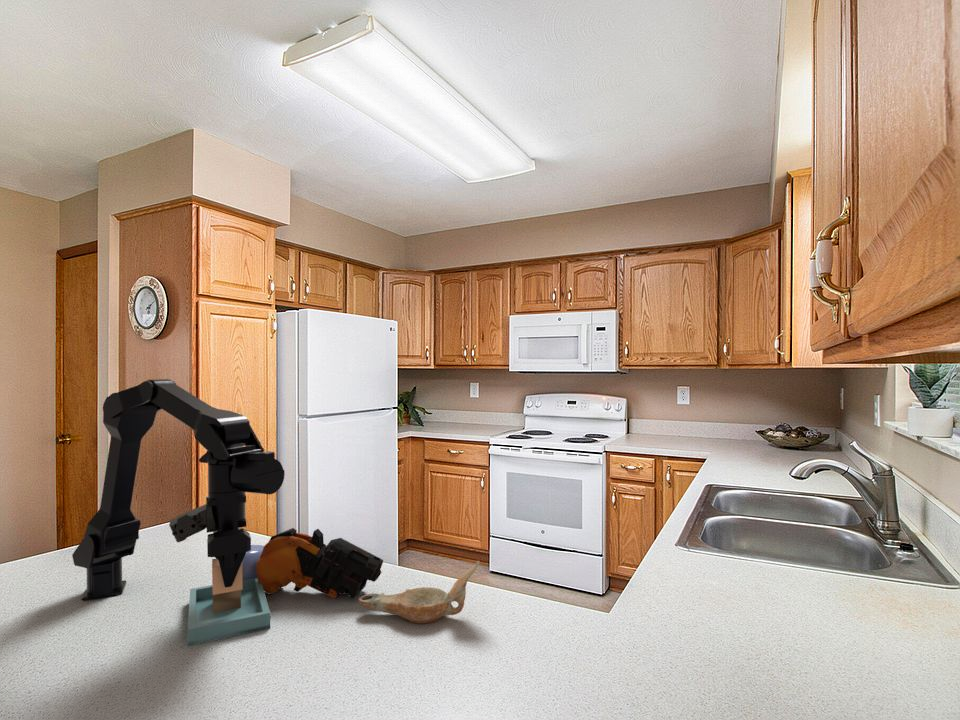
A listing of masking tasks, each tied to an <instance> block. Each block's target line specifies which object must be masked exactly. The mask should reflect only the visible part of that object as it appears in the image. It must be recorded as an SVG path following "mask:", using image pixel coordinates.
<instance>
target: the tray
mask: <svg viewBox="0 0 960 720" xmlns="http://www.w3.org/2000/svg"><path fill="white" fill-rule="evenodd" d="M242 581H243V590H241V608H236V609H231V610H226V611H220V612H215V613H213V588H212V584H211V585H205V586H199V587H194V588H190V589H189V603H188V604H189V605H188V618H187V619H188V621H187V646H188V647H190V646H196V645H199V644H204V643H208V642H214V641H218V640H222V639H226V638H230V637H231V638H232V637H235V636H240V635H245V634H250V633H254V632H259V631H263V630H268V629H271V611H270V607H269V604H268V600H267V597H266V592H265V591H264V589H263V585H262V584H259V582H258V579H257V578H254V579H249V580H242Z"/></svg>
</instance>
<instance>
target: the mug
mask: <svg viewBox="0 0 960 720" xmlns="http://www.w3.org/2000/svg"><path fill="white" fill-rule="evenodd" d="M264 546H265V545H262V544H251V550H250V551H248V552H246V554H245V556H244V559H243V561H242V580H249V579H254V578H257V573H256V569H257V568H256V566H257V561H258V559H259V557H260V556H261V553H262V551H263V548H264Z"/></svg>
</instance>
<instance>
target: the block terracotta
mask: <svg viewBox="0 0 960 720" xmlns="http://www.w3.org/2000/svg"><path fill="white" fill-rule="evenodd" d="M211 573H212V574H211V576H212V577H211V579H212V580H211V583H212V584H211V585H212V588H213V595H216V594H221V593H227V592H232V591H238V590H243V581H242V563H241V566H240V568H239V570H238V573H237V575H236V578H235V580H234V582H233V585H232V586H231V587H225V586H224V581H223V577H222V573H221V569H220V564H219V561H218V559H217V558H211Z"/></svg>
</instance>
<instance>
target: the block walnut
mask: <svg viewBox="0 0 960 720" xmlns="http://www.w3.org/2000/svg"><path fill="white" fill-rule="evenodd" d="M236 608H241V590H238V591H232V592H227V593H221V594H216V595H213V613H215V612H220V611H226V610H231V609H236Z"/></svg>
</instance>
